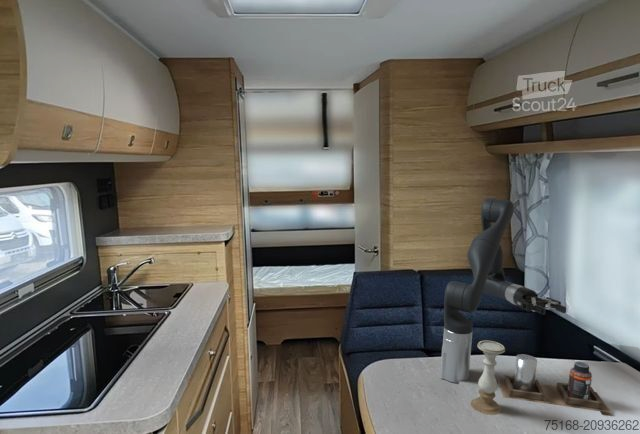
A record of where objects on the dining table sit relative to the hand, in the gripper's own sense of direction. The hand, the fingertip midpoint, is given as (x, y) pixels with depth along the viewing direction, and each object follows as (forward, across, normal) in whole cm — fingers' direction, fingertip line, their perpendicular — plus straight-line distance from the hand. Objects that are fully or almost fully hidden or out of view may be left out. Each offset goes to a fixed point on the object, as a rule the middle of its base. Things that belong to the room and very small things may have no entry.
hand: (555, 311), depth 149 cm
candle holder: (+11, -33, +25) cm, 43 cm away
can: (+6, -15, +24) cm, 29 cm away
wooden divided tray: (+10, -8, +24) cm, 28 cm away
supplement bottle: (+14, -2, +24) cm, 27 cm away
